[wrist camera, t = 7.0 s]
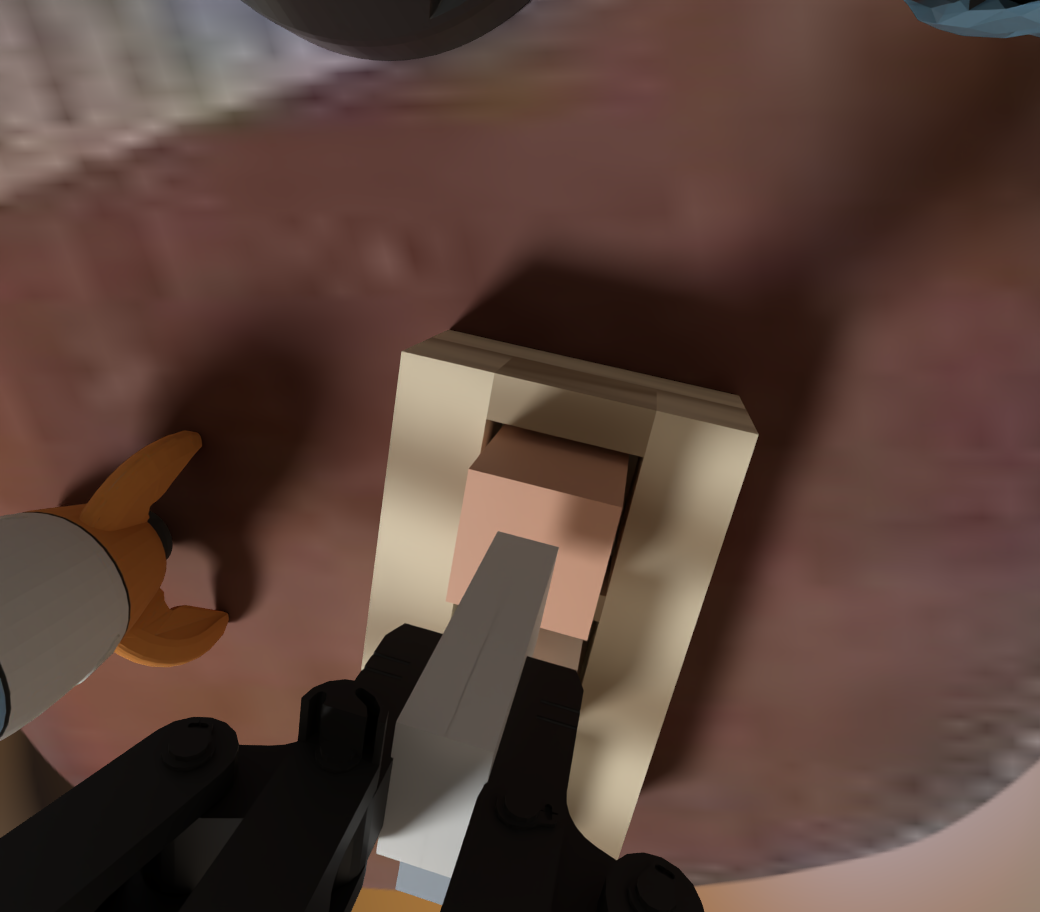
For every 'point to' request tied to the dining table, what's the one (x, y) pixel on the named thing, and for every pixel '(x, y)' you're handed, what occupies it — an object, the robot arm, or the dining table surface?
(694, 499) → the beige cube tray
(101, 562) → the toy rocket
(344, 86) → the dining table surface
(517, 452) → the key terracotta
